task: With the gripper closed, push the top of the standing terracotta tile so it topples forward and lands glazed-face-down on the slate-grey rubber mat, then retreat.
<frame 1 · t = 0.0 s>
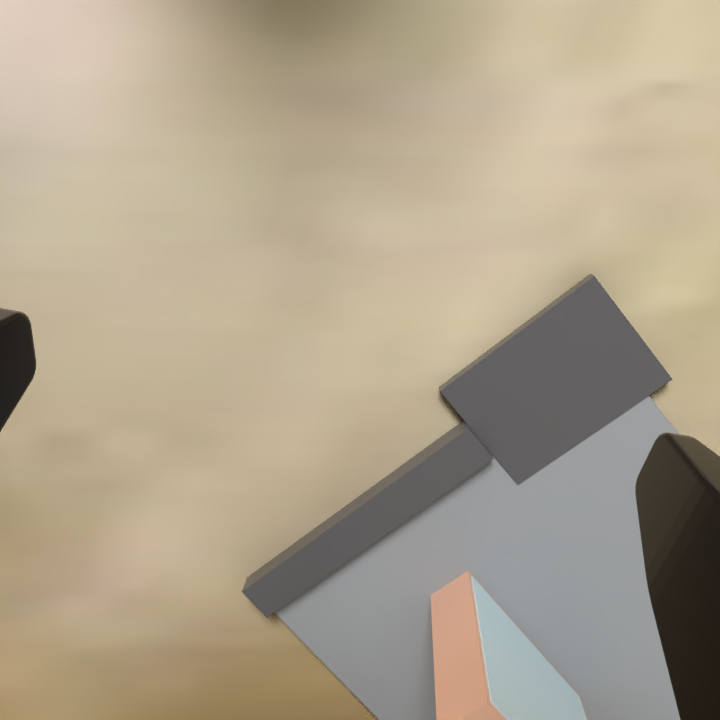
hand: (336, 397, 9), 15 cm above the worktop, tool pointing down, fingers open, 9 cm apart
turner: (478, 433, 26), resting on mat
mat: (542, 617, 28), on the worktop
tile: (506, 646, 28), resting on mat
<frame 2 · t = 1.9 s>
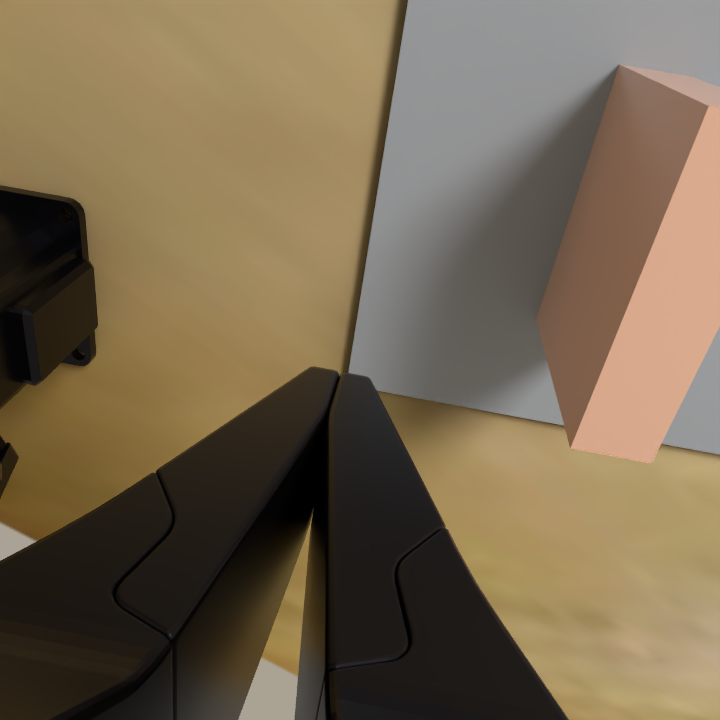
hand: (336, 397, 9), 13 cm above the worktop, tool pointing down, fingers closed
mat: (666, 218, 20), on the worktop
tile: (605, 211, 20), resting on mat
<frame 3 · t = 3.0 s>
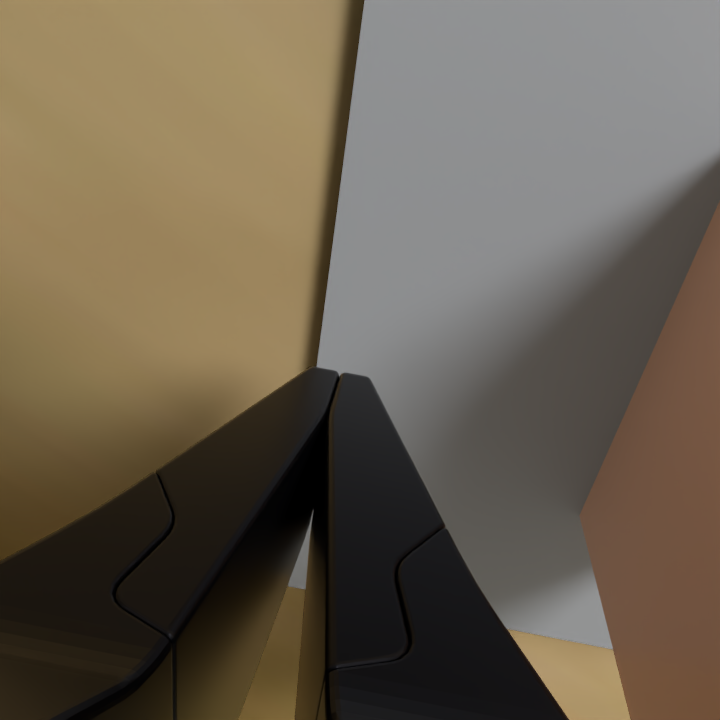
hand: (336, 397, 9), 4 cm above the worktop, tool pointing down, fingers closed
tile: (704, 367, 12), resting on mat
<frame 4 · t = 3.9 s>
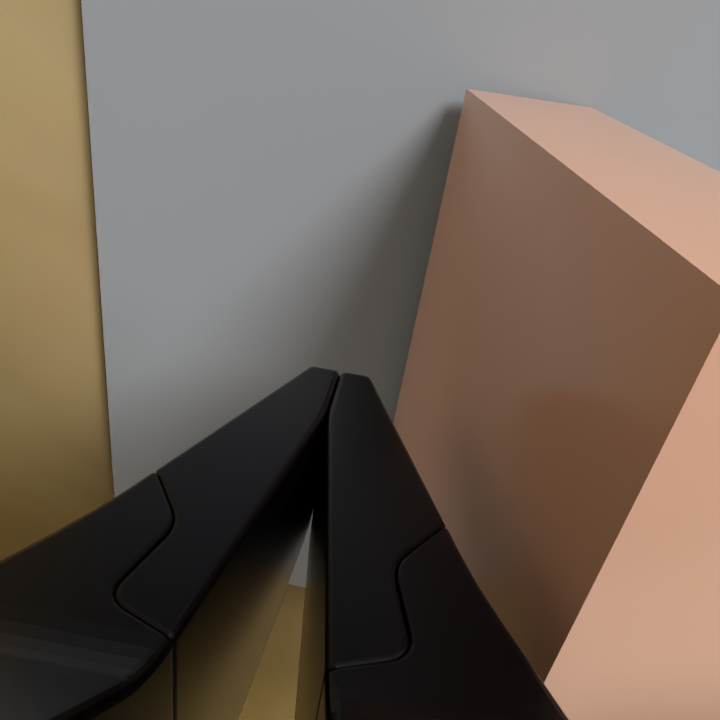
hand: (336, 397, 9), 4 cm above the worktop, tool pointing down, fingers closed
mat: (569, 333, 12), on the worktop
tile: (468, 328, 12), point 1 cm above the worktop, tilted 11°, touching mat
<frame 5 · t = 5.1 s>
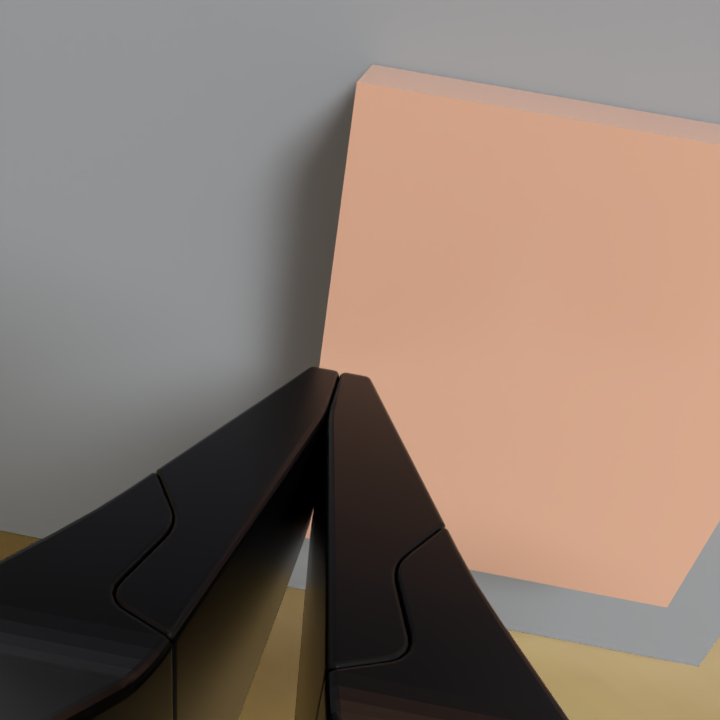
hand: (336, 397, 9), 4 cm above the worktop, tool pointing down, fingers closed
mat: (391, 300, 12), on the worktop
tile: (330, 326, 11), point 1 cm above the worktop, tilted 90°, touching mat
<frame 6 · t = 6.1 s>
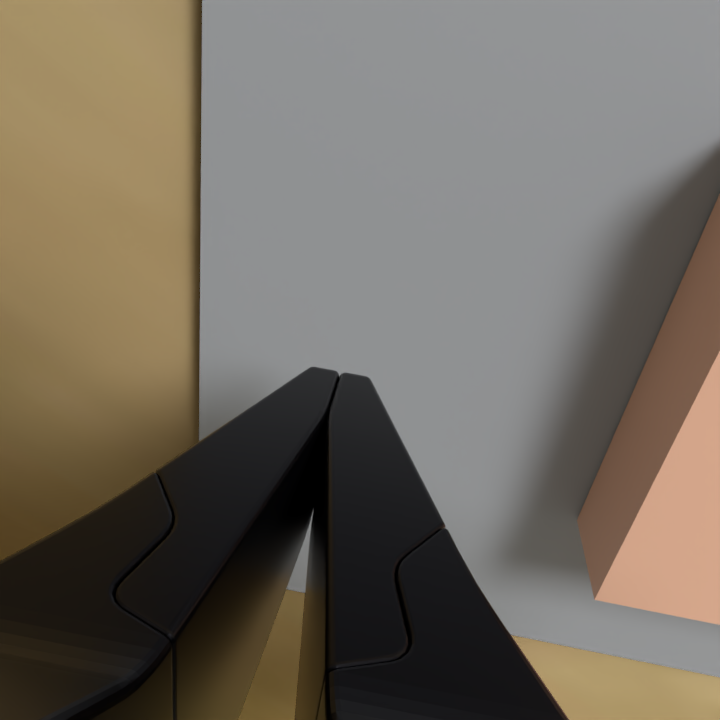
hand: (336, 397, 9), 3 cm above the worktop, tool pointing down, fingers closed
mat: (694, 353, 12), on the worktop
tile: (664, 387, 10), point 1 cm above the worktop, tilted 90°, touching mat
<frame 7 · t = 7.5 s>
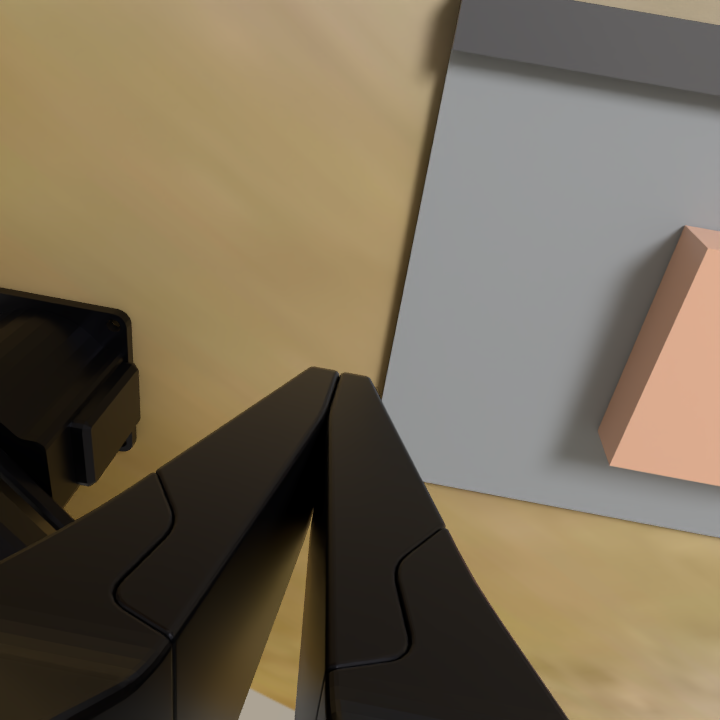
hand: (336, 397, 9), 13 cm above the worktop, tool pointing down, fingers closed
mat: (661, 336, 22), on the worktop
tile: (645, 352, 21), point 1 cm above the worktop, tilted 90°, touching mat
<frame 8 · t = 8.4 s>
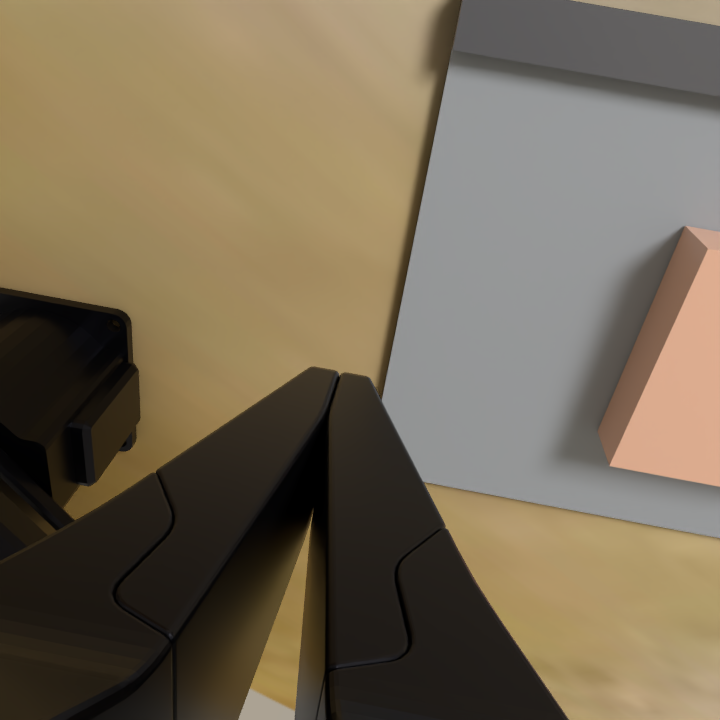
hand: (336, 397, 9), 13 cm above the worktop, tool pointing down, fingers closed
mat: (660, 337, 22), on the worktop
tile: (645, 352, 21), point 1 cm above the worktop, tilted 90°, touching mat
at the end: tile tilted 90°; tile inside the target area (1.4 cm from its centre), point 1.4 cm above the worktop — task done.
